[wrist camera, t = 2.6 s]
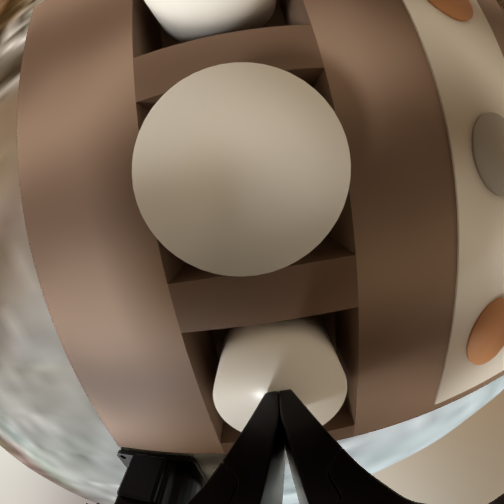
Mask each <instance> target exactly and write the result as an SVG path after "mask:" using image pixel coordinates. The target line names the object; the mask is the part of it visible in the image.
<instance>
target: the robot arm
mask: <svg viewBox="0 0 504 504" xmlns="http://www.w3.org/2000/svg"><path fill="white" fill-rule="evenodd" d="M285 448H286V453H287V457H288V461H289V465H290V469H291V473H292V476H293V480H294V484H295V488H296V492H297V495H298V499H299V503H300V504H424V503H417V502H414V501H411V500H409V499H406V498H404V497H403V496H401V495H399V494H398V493H396V492H395V491H393V490H392V489H391V488H389V487H388V486H386V485H385V484H383V483H382V482H381V481H379V480H378V479H376V478H375V477H374V476H372V475H371V474H370V473H369V472H367V471H366V470H365V469H364V468H362V467H361V466H360V465H359V464H358V463H357V462H356V461H355V460H354V459H353V458H352V457H351V456H350V455H349V454H348V453H347V452H346V451H345V450H344V449H342V447H341V446H340V445H339V444H338V442H337V441H336V440H335V439H334V438H333V437H332V436H331V435H330V434H329V432H328V431H327V430H326V429H325V428H324V427H323V426H322V425H321V423H320V422H319V421H318V420H317V419H316V418H315V417H314V415H313V414H312V413H311V412H310V411H309V410H308V408H307V407H306V406H305V405H304V404H303V403H302V401H301V400H300V399H299V398H298V397H297V395H296V394H295V393H294V392H293V391H292V390H291V389H288V390H281V391H279V393H278V392H277V391H273V392H267V393H265V394H264V396H263V398H262V399H261V401H260V403H259V404H258V406H257V408H256V409H255V411H254V413H253V414H252V416H251V418H250V419H249V421H248V422H247V424H246V426H245V427H244V429H243V430H242V432H241V433H240V435H239V437H238V438H237V440H236V441H235V443H234V444H233V446H232V447H231V449H230V450H229V452H228V453H227V455H226V456H225V458H224V459H223V461H222V463H220V465H219V466H218V468H217V469H216V471H215V472H214V473H213V475H212V476H211V477H210V479H209V480H207V478H206V477H205V475H204V473H203V472H202V470H201V468H200V467H199V465H198V463H197V461H196V460H195V459H193V458H191V457H181V456H167V455H156V454H147V453H139V452H132V451H126V450H119V451H118V454H117V455H118V457H119V458H120V460H121V461H122V462H123V463H124V465H125V466H126V467H127V470H126V472H125V475H124V477H123V479H122V482H121V484H120V487H119V489H118V491H117V494H118V496H117V498H116V501H115V503H114V504H282V499H283V485H284V470H285ZM97 504H99V503H97ZM489 504H504V494H502V495H501V496H499V497H498V498H497V499H495V500H494V501H492V502H490V503H489Z"/></svg>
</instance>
